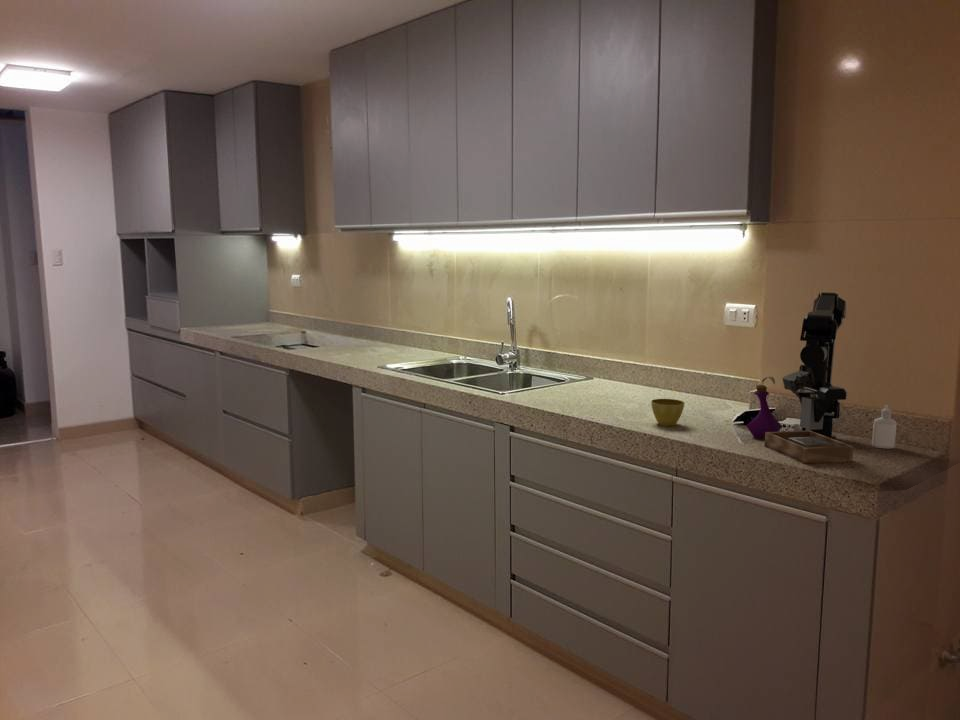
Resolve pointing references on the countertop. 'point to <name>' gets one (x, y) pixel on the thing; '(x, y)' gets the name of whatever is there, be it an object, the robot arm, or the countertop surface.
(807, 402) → the grey box with knob
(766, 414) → the perfume bottle
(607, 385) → the countertop surface
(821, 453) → the walnut box
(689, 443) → the countertop surface
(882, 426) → the eye dropper bottle
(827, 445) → the collar
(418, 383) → the countertop surface
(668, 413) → the flower pot
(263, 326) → the countertop surface
